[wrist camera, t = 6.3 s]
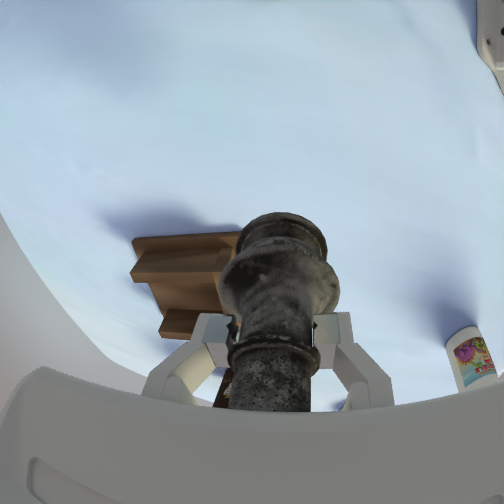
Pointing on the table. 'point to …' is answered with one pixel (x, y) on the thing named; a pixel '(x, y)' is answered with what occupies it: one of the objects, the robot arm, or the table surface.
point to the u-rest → (184, 276)
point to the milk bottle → (470, 360)
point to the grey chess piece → (276, 311)
